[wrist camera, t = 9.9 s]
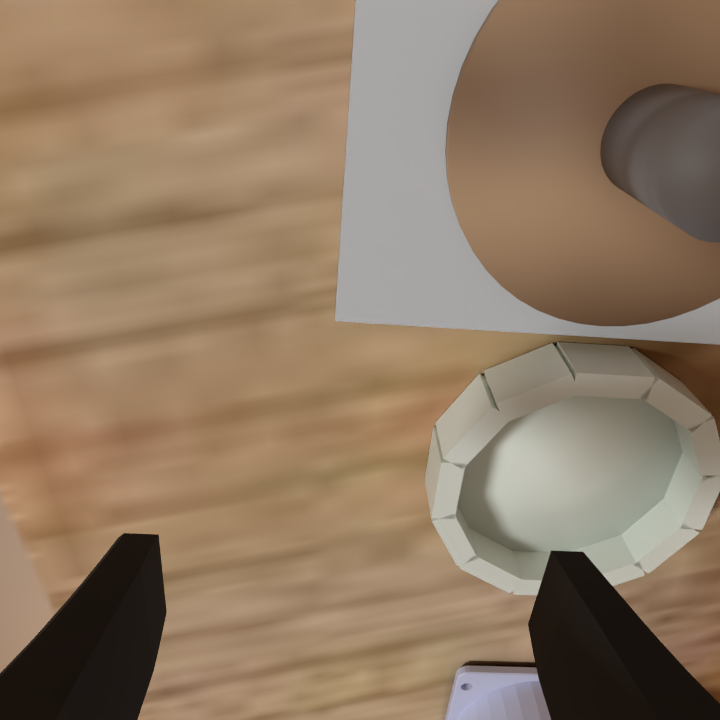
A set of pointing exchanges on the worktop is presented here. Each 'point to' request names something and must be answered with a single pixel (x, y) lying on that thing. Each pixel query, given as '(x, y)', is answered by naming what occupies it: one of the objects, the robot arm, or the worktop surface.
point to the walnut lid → (592, 156)
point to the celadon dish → (571, 465)
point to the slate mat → (431, 189)
